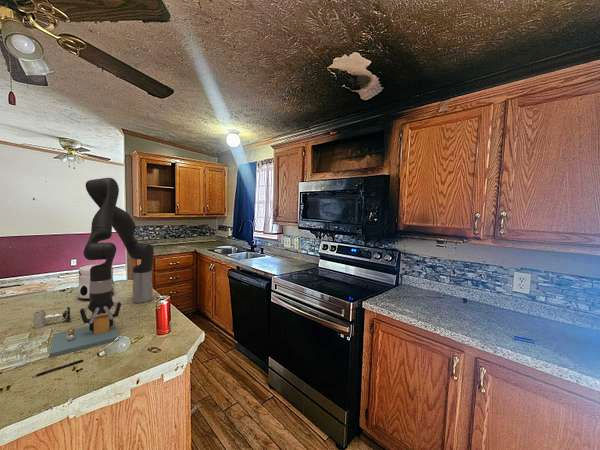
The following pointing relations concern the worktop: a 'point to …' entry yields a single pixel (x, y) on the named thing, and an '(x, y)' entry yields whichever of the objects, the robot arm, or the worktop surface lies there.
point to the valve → (48, 317)
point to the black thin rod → (57, 368)
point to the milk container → (87, 281)
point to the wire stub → (71, 335)
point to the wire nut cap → (101, 324)
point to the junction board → (80, 340)
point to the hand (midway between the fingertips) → (101, 328)
